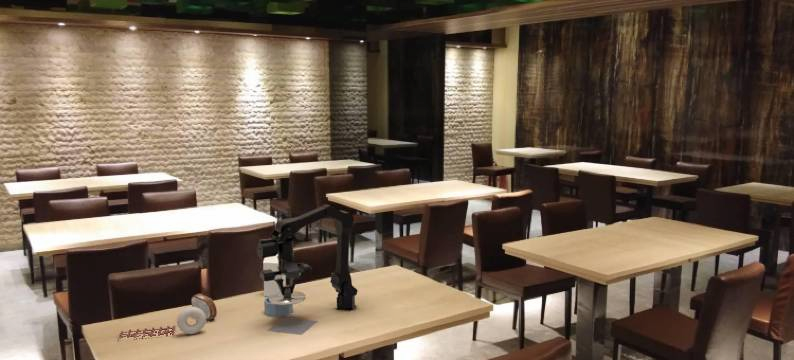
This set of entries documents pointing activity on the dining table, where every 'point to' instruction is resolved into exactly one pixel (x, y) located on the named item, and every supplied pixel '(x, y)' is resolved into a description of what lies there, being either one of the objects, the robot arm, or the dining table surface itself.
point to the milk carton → (272, 286)
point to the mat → (292, 325)
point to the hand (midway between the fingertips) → (287, 294)
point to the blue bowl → (277, 309)
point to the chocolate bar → (148, 332)
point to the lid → (287, 297)
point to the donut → (188, 313)
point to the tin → (204, 305)
